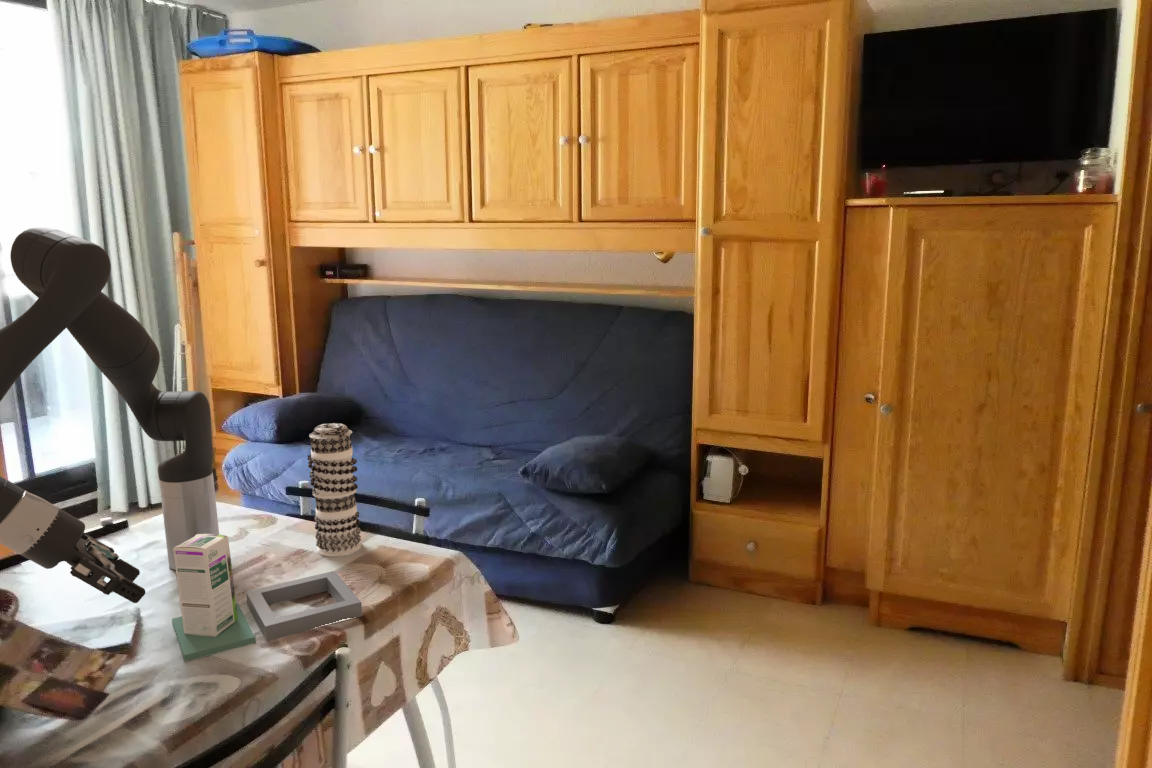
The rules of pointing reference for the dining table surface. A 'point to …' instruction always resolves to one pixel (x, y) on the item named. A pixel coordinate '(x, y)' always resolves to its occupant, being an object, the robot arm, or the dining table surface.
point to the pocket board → (306, 619)
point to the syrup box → (205, 584)
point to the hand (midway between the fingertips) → (138, 586)
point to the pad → (214, 638)
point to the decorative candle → (334, 490)
